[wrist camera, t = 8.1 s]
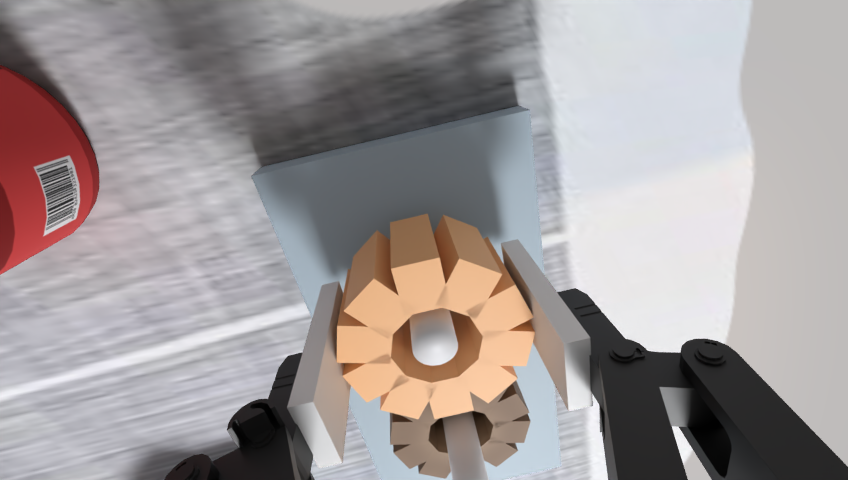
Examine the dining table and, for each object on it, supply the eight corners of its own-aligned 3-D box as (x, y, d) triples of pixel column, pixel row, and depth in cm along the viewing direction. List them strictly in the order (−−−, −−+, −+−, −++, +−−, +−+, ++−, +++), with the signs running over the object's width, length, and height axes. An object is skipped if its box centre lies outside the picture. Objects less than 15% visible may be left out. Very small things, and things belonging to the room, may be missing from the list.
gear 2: (374, 355, 21) (373, 400, 18) (505, 325, 21) (523, 366, 18) (404, 440, 24) (407, 489, 21) (518, 414, 24) (535, 460, 21)
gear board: (261, 166, 18) (185, 235, 11) (518, 105, 18) (602, 136, 11) (391, 483, 28) (393, 619, 21) (552, 446, 28) (606, 570, 21)
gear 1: (324, 237, 16) (306, 288, 12) (493, 198, 16) (524, 237, 12) (370, 364, 19) (365, 435, 15) (512, 331, 19) (542, 394, 15)
